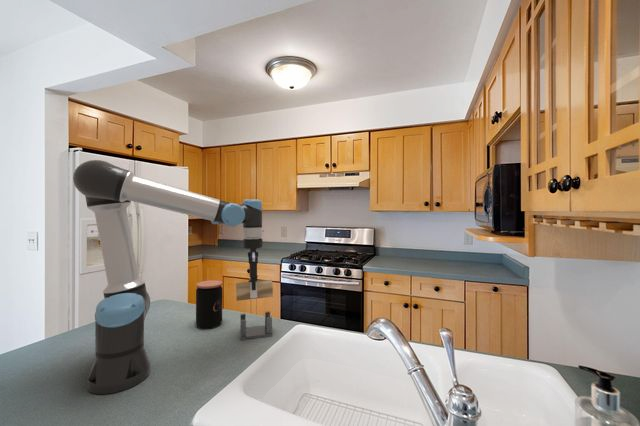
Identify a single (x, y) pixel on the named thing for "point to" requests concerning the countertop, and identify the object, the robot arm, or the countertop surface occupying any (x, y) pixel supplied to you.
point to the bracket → (255, 328)
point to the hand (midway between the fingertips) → (253, 295)
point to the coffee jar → (208, 304)
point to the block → (262, 290)
